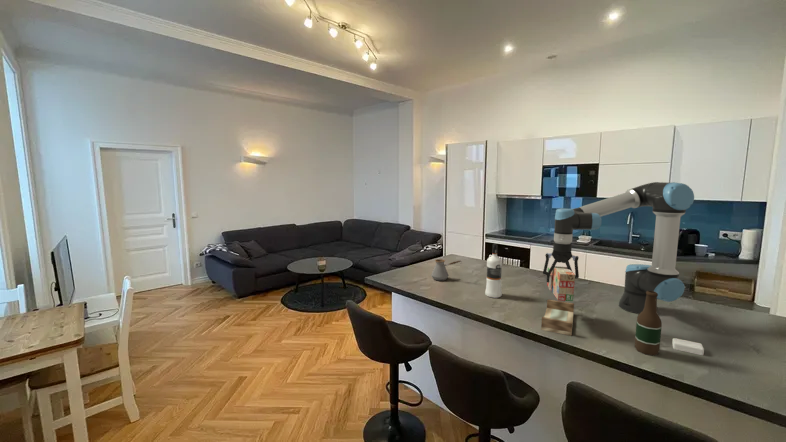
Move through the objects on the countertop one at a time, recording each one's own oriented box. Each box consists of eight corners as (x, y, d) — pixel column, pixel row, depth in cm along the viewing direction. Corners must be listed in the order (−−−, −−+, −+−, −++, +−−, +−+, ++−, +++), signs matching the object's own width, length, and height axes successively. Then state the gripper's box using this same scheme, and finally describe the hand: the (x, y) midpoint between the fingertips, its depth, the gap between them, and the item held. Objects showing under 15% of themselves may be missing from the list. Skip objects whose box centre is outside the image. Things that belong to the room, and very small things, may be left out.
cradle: (573, 314, 167) (574, 303, 166) (571, 335, 145) (572, 323, 144) (546, 309, 173) (547, 299, 172) (541, 329, 150) (541, 318, 150)
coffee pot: (428, 279, 225) (428, 257, 223) (436, 275, 234) (436, 254, 232) (456, 285, 212) (457, 262, 210) (465, 281, 221) (465, 258, 219)
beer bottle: (648, 345, 136) (653, 288, 133) (664, 355, 128) (670, 295, 125) (629, 346, 135) (634, 288, 132) (644, 356, 128) (650, 295, 125)
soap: (673, 349, 133) (673, 342, 132) (671, 344, 137) (672, 337, 137) (703, 356, 128) (704, 349, 127) (701, 350, 132) (702, 343, 132)
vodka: (497, 292, 199) (499, 242, 195) (504, 297, 190) (506, 245, 186) (482, 293, 198) (483, 243, 194) (489, 298, 189) (490, 246, 185)
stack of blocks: (546, 285, 168) (548, 261, 167) (560, 286, 167) (561, 261, 165) (557, 300, 147) (559, 273, 146) (573, 301, 146) (575, 274, 145)
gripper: (537, 241, 155) (535, 289, 158) (588, 246, 145) (584, 296, 148) (539, 239, 162) (537, 285, 165) (588, 243, 152) (584, 291, 155)
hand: (559, 290), depth 157 cm, fingers closed on stack of blocks, 7 cm apart
